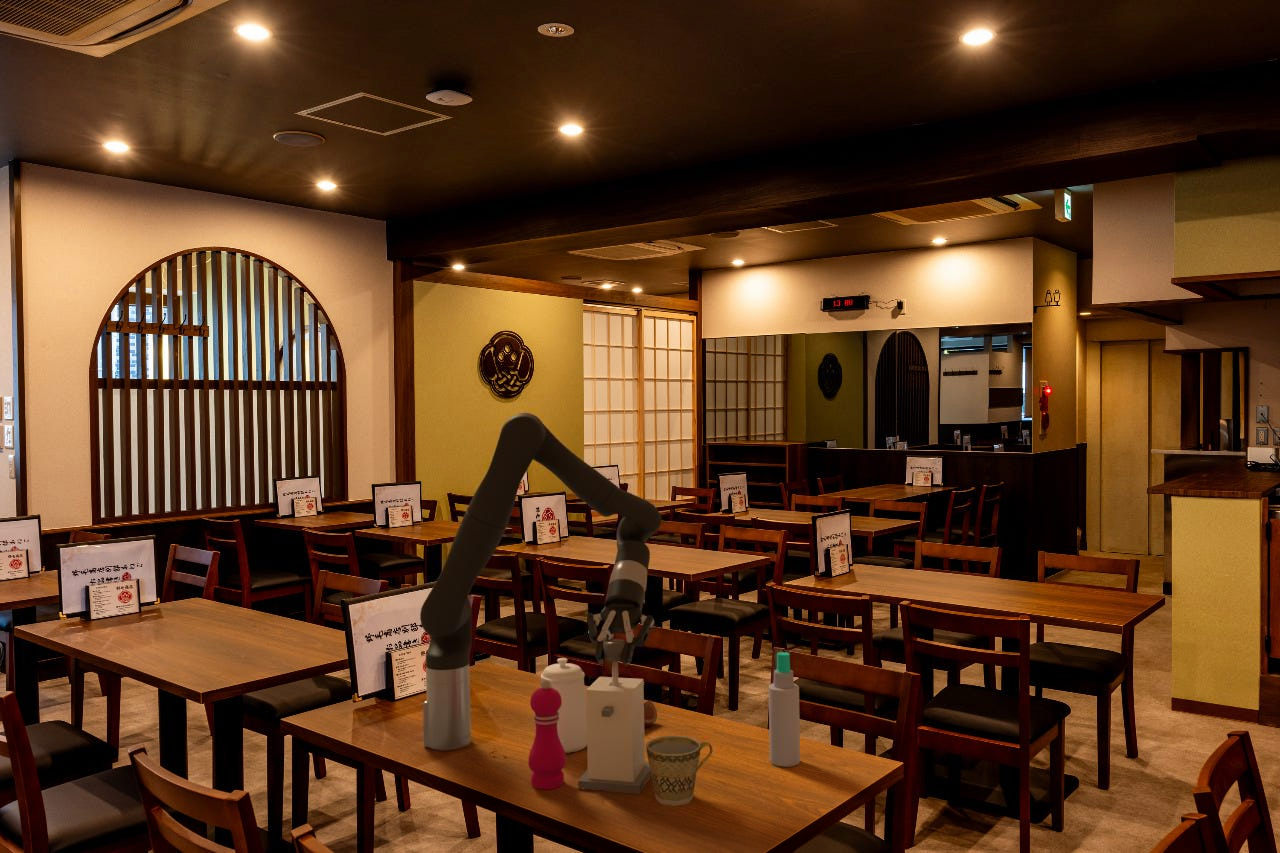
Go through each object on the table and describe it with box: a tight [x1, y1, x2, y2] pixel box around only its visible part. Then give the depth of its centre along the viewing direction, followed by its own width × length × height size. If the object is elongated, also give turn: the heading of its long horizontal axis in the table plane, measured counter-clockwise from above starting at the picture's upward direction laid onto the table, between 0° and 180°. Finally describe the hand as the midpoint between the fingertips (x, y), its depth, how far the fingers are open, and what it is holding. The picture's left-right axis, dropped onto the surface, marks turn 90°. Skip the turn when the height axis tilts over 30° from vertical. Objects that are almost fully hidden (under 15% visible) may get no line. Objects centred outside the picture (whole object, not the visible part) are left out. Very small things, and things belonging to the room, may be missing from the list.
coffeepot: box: [540, 657, 587, 754], centre depth 202 cm, size 11×25×19 cm, turn 168°
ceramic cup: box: [645, 735, 713, 807], centre depth 174 cm, size 13×10×10 cm
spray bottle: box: [768, 651, 801, 768], centre depth 191 cm, size 6×6×22 cm
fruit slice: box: [644, 699, 658, 728], centre depth 214 cm, size 8×7×5 cm
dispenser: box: [577, 676, 652, 795], centre depth 183 cm, size 12×13×18 cm
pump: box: [603, 638, 627, 686], centre depth 183 cm, size 4×4×21 cm
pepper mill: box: [528, 680, 567, 790], centre depth 182 cm, size 7×7×20 cm
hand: (612, 662), depth 181 cm, fingers closed on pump, 4 cm apart
